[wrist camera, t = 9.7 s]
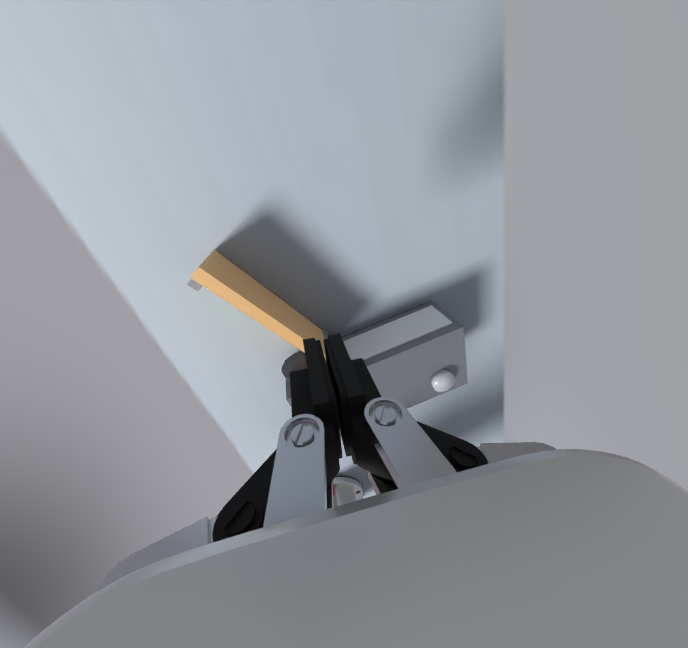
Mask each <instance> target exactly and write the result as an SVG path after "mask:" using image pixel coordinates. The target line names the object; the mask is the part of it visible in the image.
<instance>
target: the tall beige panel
mask: <svg viewBox="0 0 688 648" xmlns="http://www.w3.org/2000/svg"><path fill="white" fill-rule="evenodd" d="M190 278H191V280H190V281H189V282H188V284H187V285H189V286H190V287H192V288H193V289H195V290H197V291H198V290H199V289H200V288H201V287H202V286H204V287H205V288H207V289H208V290H210V291H211V292H213V293H214V294H216V295H217V296H219V297H220V298H222V299H223V300H225V301H226V302H228V303H230V304H231V305H233V306H234V307H236V308H237V309H239V310H240V311H242V312H243V313H245V314H246V315H248V316H249V317H251V318H252V319H254V320H256V321H257V322H259V323H260V324H262V325H263V326H265V327H266V328H268V329H269V330H271V331H272V332H274V333H275V334H277V335H278V336H280V337H281V338H283V339H285V340H286V341H288V342H289V343H291V344H292V345H294V346H295V347H297V348H298V349H300V350H301V351H303V352H304V353H305V351H304V345H303V339H309V338H314V337H315V341H316V340H320V342H321V345H322V349H323V353H324V356H325V348H324V339H327V338H328V332H327V331H326V330H322V329H320V328H319V327H318V326H316V325H315V324H314V323H312V322H311V321H310V320H308V319H307V318H306V317H304V316H303V315H301V314H300V313H299V312H297V311H296V310H295V309H293V308H292V307H291V306H289V305H288V304H287V303H285V302H284V301H283V300H281V299H280V298H279V297H277V296H276V295H275V294H273V293H272V292H271V291H269V290H268V289H267V288H265V287H264V286H263V285H261V284H260V283H259V282H257V281H256V280H255V279H253V278H252V277H251V276H249V275H248V274H247V273H245V272H244V271H243V270H241V269H240V268H239V267H237V266H236V265H234V264H233V263H232V262H230V261H229V260H228V259H226V258H225V257H224V256H222V255H221V254H220V253H218V252H217V251H216V250H213V251H212V253H211V254H210V255H209V256H208V257H207V258H206V259H205V260H204V261H203V263H202V264H201V265H200V266H199V267H198V268H197V270H196V271H195V272H194V273H193V275H192V276H191V277H190ZM325 360H326V357H325Z"/></svg>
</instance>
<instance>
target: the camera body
mask: <svg viewBox="0 0 688 648" xmlns="http://www.w3.org/2000/svg"><path fill="white" fill-rule="evenodd" d="M342 340H343V342H344V345H345V347H346V349H347V352H348V354H349V356H350V359H351V360H353V359H359V358H362V359H363V360H364V362H365V364H366V366H367V368H368V370H369V372H370V374H371V376H372V379H373V381H374V383H375V385H376V387H377V389H378V391H379V393H380V395H381V397H389V398H393V399H395V400H397V401H399V402H400V403H401V404H402V405H403V406H404V407H405V408H406V409H407V408H409V407H412V406H414V405H416V404H419V403H421V402H424V401H426V400H428V399H431V398H433V397H436V396H438V395H440V394H443V393H445V392H447V391H450V390H452V389H455V388H457V387H459V386H462V385H464V384H467V369H466V355H465V341H464V327H463V326H462V325H461V324H459V323H458V322H457V321H456V320H454V319H453V318H452V317H451V316H449V315H448V314H447V313H445V312H444V311H443V310H442V309H440V308H439V307H438V306H437V305H435V304H434V303H433V302H432V301H430V302H428V303H425V304H423V305H420V306H418V307H415V308H413V309H411V310H408V311H406V312H403V313H401V314H398V315H396V316H393V317H391V318H388V319H386V320H384V321H381V322H379V323H376V324H374V325H371V326H369V327H366V328H364V329H361V330H359V331H357V332H354V333H352V334H349V335H347V336H344V337H342ZM306 368H307V364H306V357H305V353H304V352H303V351H301V352H298V353H295V354H293V355H292V356H290V357H289V358H288V359H287V360H285V362H284V364H283V366H282V373H283V375H284V376H285V378H286V397H287V401H288V403H289V404H290V406H291V388H290V371H295V370H300V369H306ZM291 407H292V406H291ZM340 436H341V433H340Z"/></svg>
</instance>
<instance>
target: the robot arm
mask: <svg viewBox="0 0 688 648" xmlns="http://www.w3.org/2000/svg"><path fill="white" fill-rule="evenodd" d="M303 345H304V351H305V357H306V364H307V368H306V369H300V370H295V371H290V388H291V406H292V418H291V419H289V420H288V421H287V422H286V423H285V424H284V425H283V427H282V428H281V431H280V434H279V439H278V445H277V449H276V450H275V451H274V452H273V454H272V455H271V456H270V457H269V458H268V459H267V460H266V461H265V462H264V463H263V464H262V466H261V467H260V468H259V469H258V470H257V471H256V472H255V473H254V474H253V475H252V476H251V478H250V479H249V480H248V481H247V482H246V483H245V484H244V485H243V486H242V487H241V488H240V490H239V491H238V492H237V493H236V494H235V495H234V496H233V497H232V498H231V500H229V502H228V503H227V504H226V505H225V506H224V507H223V509H222V510H221V511H220V513H219V514H218V515H217V516H216V517H214V518H211V519H210V520H209V519H208V517H205V518H203V519H201V520H199V521H198V522H195V523H193V524H191V525H189V526H187V527H185V528H183V529H181V530H179V531H177V532H175V533H173V534H171V535H169V536H167V537H165V538H163V539H161V540H159V541H157V542H155V543H153V544H151V545H149V546H147V547H145V548H143V549H141V550H139V551H137V552H135V553H133V554H131V555H130V556H128V557H127V558H125V559H124V560H122V561H121V562H119V563H118V564H117V565H116V566H115V567H114V568H113V569H112V570H111V571H110V572H109V573H108V575H107V576H106V577H105V579H104V580H103V582H102V583H101V585H100V586H99V588H98V590H97V593H95V594H93V595H91V596H90V597H88V598H87V599H85V600H84V601H82V602H81V603H79V604H78V605H77V606H75V607H74V608H72V609H71V610H70V611H68V612H67V613H65V614H64V615H63V616H61V617H60V618H59V619H57V620H56V621H55V622H53V623H52V624H51V625H50V626H48V627H47V628H46V629H45V630H44V631H42V632H41V633H40V634H39V635H38V636H36V637H35V638H34V639H33V640H32V641H31V642H30V643H29V644H28V645H27V646H26V647H25V648H688V491H686V490H685V489H683V488H682V487H681V486H679V485H678V484H676V483H675V482H673V481H671V480H670V479H668V478H667V477H665V476H664V475H662V474H660V473H659V472H657V471H655V470H653V469H651V468H650V467H648V466H646V465H644V464H642V463H640V462H637V461H635V460H632V459H630V458H627V457H623V456H619V455H616V454H611V453H606V452H600V451H591V450H583V449H558V450H557V449H555V448H554V447H552V446H549V445H547V444H544V443H537V442H530V443H529V442H524V443H481V444H480V447H476V446H474V445H473V444H471V443H469V442H467V441H464V440H462V439H459V438H457V437H454V436H452V435H450V434H447V433H445V432H442V431H440V430H437V429H435V428H432V427H430V426H427V425H425V424H422V423H420V422H417V421H416V420H415V419H414V418H413V417H412V415H411V414H410V413H409V412H408V410H407V409H406V408H405V407H404V406H403V405H402V404H401V403H400V402H399V401H397V400H395V399H393V398H389V397H381V395H380V393H379V391H378V389H377V387H376V385H375V383H374V381H373V379H372V376H371V374H370V372H369V370H368V368H367V366H366V364H365V362H364V360H363V359H362V358H359V359H353V360H351V359H350V356H349V354H348V352H347V349H346V347H345V345H344V342H343V340H342V337H341V335H340V333H338V334H332V335H328V338H327V339H324V348H325V356H324V353H323V349H322V345H321V342H320V340H316V341H315V337H314V338H309V339H303ZM325 357H326V360H325ZM340 433H341V437H342V441H343V445H344V449H345V453H346V456H351V455H352V459H353V463H354V464H357V465H358V466H360V467H362V468H363V469H365V470H366V472H367V475H368V478H369V480H370V482H371V484H372V486H373V488H374V491H375V493H376V495H375V496H371V497H368V498H364V499H363V496H364V493H363V489H362V486H361V484H360V483H359V482H358V481H356V480H354V479H351V478H347V477H335V476H336V475H337V473H338V472H339V470H340V466H339V458H342V448H341V439H340ZM332 481H333V482H334V487H335V492H336V498H337V503H338V506H336V507H333V485H332Z"/></svg>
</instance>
